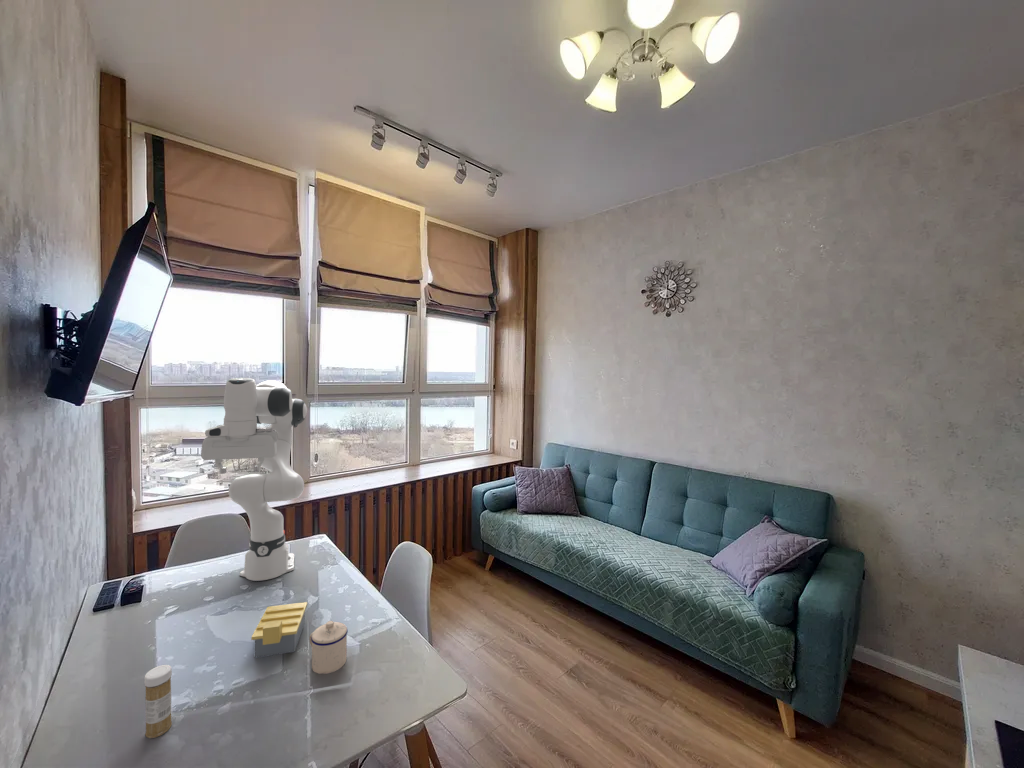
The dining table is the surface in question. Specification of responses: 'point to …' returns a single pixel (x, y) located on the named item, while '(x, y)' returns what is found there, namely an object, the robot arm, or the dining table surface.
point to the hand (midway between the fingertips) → (240, 472)
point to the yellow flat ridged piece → (279, 622)
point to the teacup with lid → (329, 647)
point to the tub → (279, 644)
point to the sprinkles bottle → (158, 701)
